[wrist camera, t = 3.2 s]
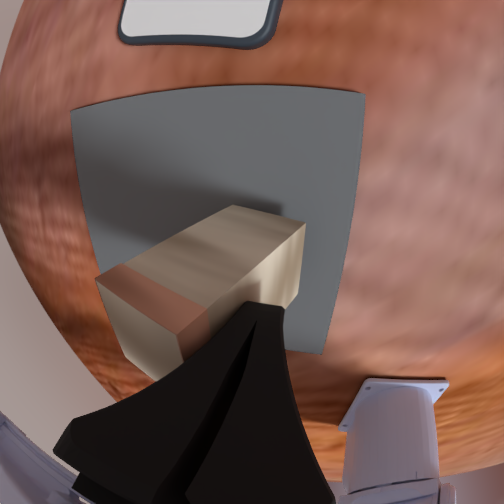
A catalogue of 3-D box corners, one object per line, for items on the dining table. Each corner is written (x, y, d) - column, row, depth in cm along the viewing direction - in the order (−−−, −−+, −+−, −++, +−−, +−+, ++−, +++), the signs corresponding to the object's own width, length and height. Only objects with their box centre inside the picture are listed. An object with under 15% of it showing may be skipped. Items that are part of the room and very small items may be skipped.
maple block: (298, 294, 15) (198, 411, 9) (233, 270, 16) (125, 357, 11) (307, 221, 12) (176, 334, 7) (231, 203, 14) (94, 278, 8)
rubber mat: (322, 349, 19) (321, 354, 18) (115, 305, 22) (112, 309, 22) (364, 94, 11) (365, 94, 10) (75, 109, 14) (70, 111, 14)
